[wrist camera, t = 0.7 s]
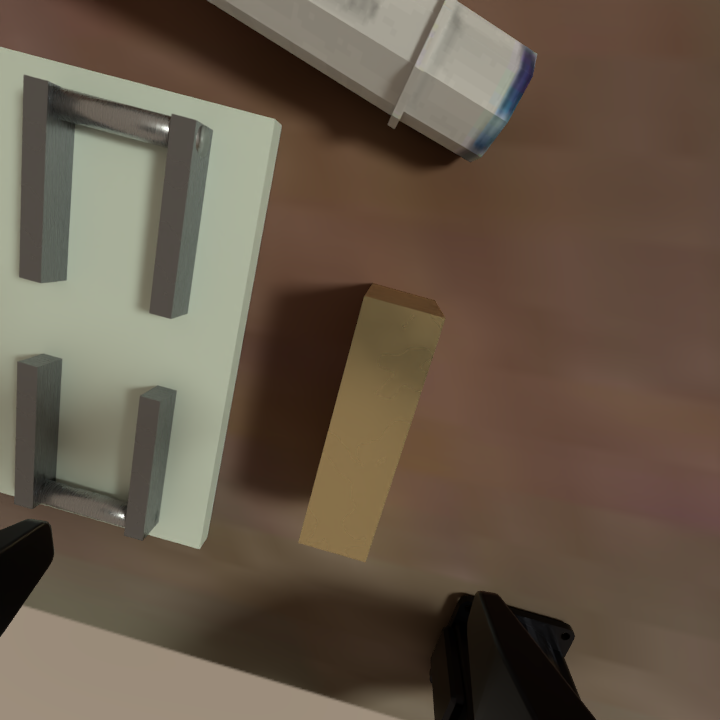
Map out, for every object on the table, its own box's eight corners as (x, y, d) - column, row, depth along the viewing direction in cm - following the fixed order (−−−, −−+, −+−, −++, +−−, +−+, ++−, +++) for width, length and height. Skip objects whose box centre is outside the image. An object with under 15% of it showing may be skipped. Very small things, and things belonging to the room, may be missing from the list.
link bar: (434, 299, 20) (445, 318, 15) (372, 495, 23) (365, 562, 18) (372, 282, 20) (364, 295, 15) (319, 480, 23) (298, 542, 18)
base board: (281, 125, 18) (275, 119, 17) (207, 537, 24) (199, 549, 23) (18, 56, 18) (-3, 46, 18) (11, 481, 25) (-5, 490, 24)
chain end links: (213, 130, 18) (196, 120, 16) (158, 522, 23) (142, 540, 22) (54, 88, 18) (23, 74, 16) (38, 487, 23) (14, 503, 22)
